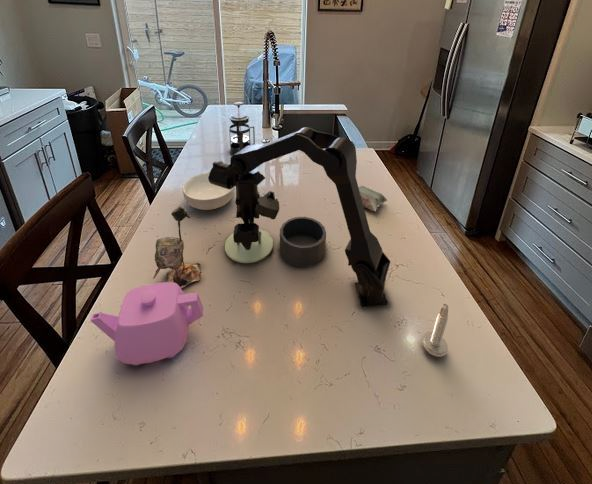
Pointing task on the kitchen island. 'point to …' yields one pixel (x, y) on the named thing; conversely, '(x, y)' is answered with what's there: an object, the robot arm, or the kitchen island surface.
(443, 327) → the screw
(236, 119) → the french press
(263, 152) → the robot arm
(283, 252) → the container
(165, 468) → the kitchen island surface
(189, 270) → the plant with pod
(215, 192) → the cereal bowl
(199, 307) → the teapot
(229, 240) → the lid
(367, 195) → the packaged food
